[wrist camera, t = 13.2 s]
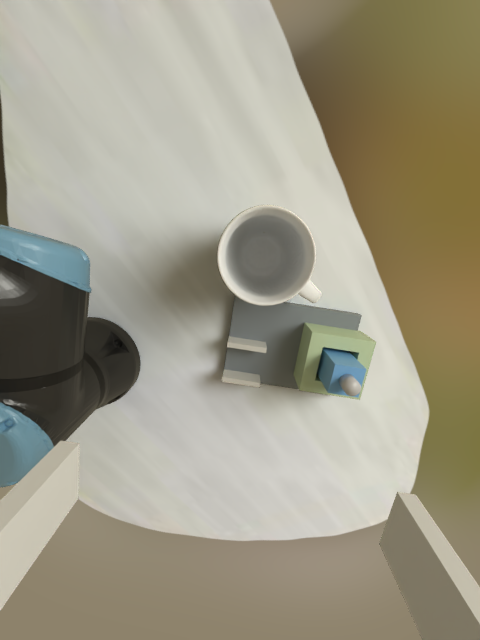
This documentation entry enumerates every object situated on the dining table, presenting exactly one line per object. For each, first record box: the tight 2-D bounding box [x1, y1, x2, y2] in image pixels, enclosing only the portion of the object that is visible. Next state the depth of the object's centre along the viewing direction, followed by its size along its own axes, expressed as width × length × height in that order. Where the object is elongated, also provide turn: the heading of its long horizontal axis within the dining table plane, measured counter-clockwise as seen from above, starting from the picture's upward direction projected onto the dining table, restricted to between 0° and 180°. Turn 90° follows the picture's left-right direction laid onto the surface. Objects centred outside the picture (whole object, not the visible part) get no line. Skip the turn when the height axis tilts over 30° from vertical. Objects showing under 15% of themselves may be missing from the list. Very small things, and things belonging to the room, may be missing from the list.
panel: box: [222, 295, 362, 389], centre depth 44 cm, size 20×14×4 cm
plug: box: [317, 347, 366, 398], centre depth 39 cm, size 4×4×12 cm
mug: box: [217, 205, 322, 306], centre depth 37 cm, size 15×11×13 cm
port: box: [293, 323, 376, 400], centre depth 42 cm, size 9×9×6 cm
